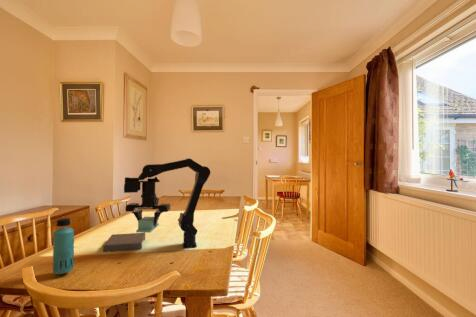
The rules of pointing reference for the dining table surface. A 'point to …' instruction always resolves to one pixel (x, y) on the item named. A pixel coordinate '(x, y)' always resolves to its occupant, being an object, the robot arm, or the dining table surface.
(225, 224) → the dining table surface
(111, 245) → the stand
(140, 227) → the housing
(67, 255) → the beverage bottle
